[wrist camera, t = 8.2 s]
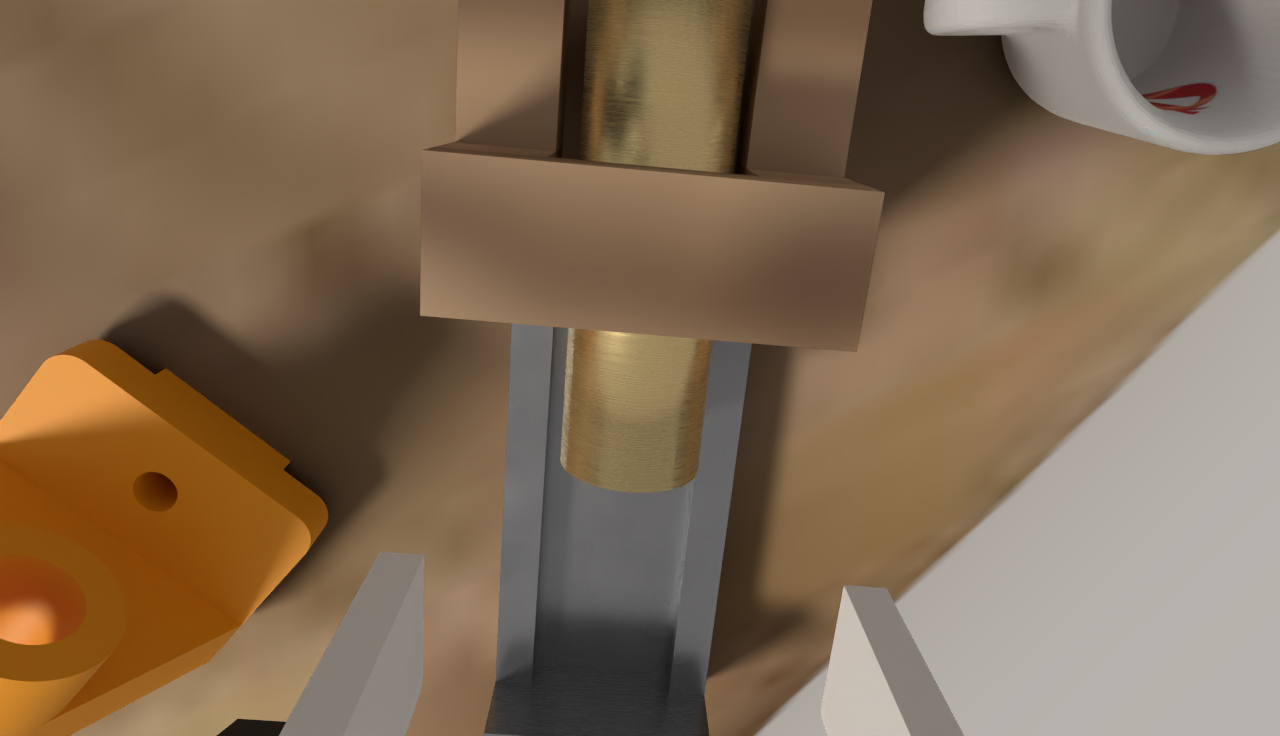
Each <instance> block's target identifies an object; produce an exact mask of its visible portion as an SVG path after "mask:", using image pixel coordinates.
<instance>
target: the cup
mask: <svg viewBox="0 0 1280 736" xmlns="http://www.w3.org/2000/svg"><path fill="white" fill-rule="evenodd" d="M923 17H924V26H925V29H926V30H927V32H929V33H930V34H932V35H939V36H967V35H1001V38H1002V46H1003V50H1004V55H1005V58H1006V61H1007V64H1008V66H1009V69H1010V71H1011V73H1012V75H1013V77H1014V78H1015V80H1016V82H1017V83H1018V84H1019V86H1020V87H1021V88H1022V90H1023V91H1024V92H1025V93H1026V94H1027V95H1028V96H1029V97H1030V98H1031V99H1032V100H1033V101H1035V102H1036V103H1037V104H1039V105H1040V106H1042V107H1043V108H1045V109H1046V110H1048V111H1049V112H1051V113H1053V114H1055V115H1057V116H1060V117H1062V118H1065V119H1068V120H1071V121H1074V122H1077V123H1080V124H1084V125H1087V126H1091V127H1095V128H1098V129H1102V130H1106V131H1109V132H1113V133H1117V134H1120V135H1124V136H1128V137H1131V138H1135V139H1139V140H1142V141H1146V142H1150V143H1153V144H1157V145H1161V146H1164V147H1168V148H1172V149H1175V150H1179V151H1184V152H1190V153H1198V154H1217V155H1219V154H1231V153H1240V152H1246V151H1251V150H1255V149H1259V148H1263V147H1266V146H1269V145H1272V144H1275V143H1278V142H1280V0H925V5H924V12H923Z"/></svg>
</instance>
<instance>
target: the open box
mask: <svg viewBox="0 0 1280 736" xmlns="http://www.w3.org/2000/svg"><path fill="white" fill-rule="evenodd" d="M872 1H873V0H753V3H752V11H751V20H750V29H749V37H748V46H747V54H746V63H745V72H744V80H743V89H742V97H741V106H740V115H739V123H738V132H737V140H736V149H735V158H734V166H733V174H730V173H719V172H708V171H697V170H686V169H675V168H664V167H653V166H642V165H631V164H620V163H609V162H598V161H587V160H579V150H580V133H581V117H582V101H583V85H584V69H585V53H586V37H587V21H588V4H589V0H459V7H458V51H457V95H456V139H455V142H453V143H449V144H445V145H441V146H437V147H433V148H429V149H425V150H422V191H421V280H420V316H430V317H442V318H454V319H466V320H478V321H490V322H502V323H514V324H526V325H538V326H550V327H562V328H574V329H586V330H598V331H610V332H622V333H634V334H646V335H658V336H670V337H682V338H694V339H706V340H718V341H730V342H742V343H754V344H766V345H778V346H790V347H802V348H814V349H826V350H838V351H850V352H857V349H858V343H859V338H860V332H861V326H862V321H863V315H864V309H865V303H866V298H867V292H868V286H869V281H870V275H871V269H872V264H873V258H874V252H875V246H876V241H877V235H878V229H879V224H880V218H881V212H882V206H883V201H884V195H885V192H883V191H880V190H877V189H874V188H872V187H869V186H866V185H864V184H861V183H858V182H855V181H853V180H850V179H847V178H844V176H845V169H846V163H847V157H848V151H849V144H850V138H851V132H852V126H853V119H854V113H855V107H856V101H857V94H858V88H859V82H860V76H861V69H862V63H863V57H864V51H865V44H866V38H867V32H868V26H869V19H870V13H871V7H872Z"/></svg>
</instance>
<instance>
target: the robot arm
mask: <svg viewBox="0 0 1280 736" xmlns="http://www.w3.org/2000/svg"><path fill="white" fill-rule="evenodd" d="M423 608H424V555H419V554H405V553H391V552H380V553H379V554H378V556H377V558H376V560H375V562H374V564H373V565H372V567H371V569H370V571H369V573H368V574H367V576H366V578H365V580H364V582H363V584H362V585H361V587H360V589H359V591H358V593H357V594H356V596H355V598H354V600H353V602H352V604H351V605H350V607H349V609H348V611H347V613H346V614H345V616H344V618H343V620H342V622H341V624H340V625H339V627H338V629H337V631H336V633H335V635H334V636H333V638H332V640H331V642H330V644H329V645H328V647H327V649H326V651H325V653H324V655H323V656H322V658H321V660H320V662H319V664H318V665H317V667H316V669H315V671H314V673H313V675H312V676H311V678H310V680H309V682H308V684H307V685H306V687H305V689H304V691H303V693H302V695H301V696H300V698H299V700H298V702H297V704H296V706H295V707H294V709H293V711H292V713H291V715H290V716H289V718H288V720H287V722H278V721H263V720H247V719H237V720H236V721H235V722H233V723H232V724H231V725H230V726H228V727H227V728H226V729H225V730H223V731H222V732H221V733H220V734H218V735H217V736H405V735H406V732H407V729H408V726H409V724H410V721H411V718H412V715H413V712H414V709H415V706H416V704H417V701H418V698H419V695H420V692H421V689H422V680H423ZM820 714H821V717H822V721H823V723H824V727H825V730H826V733H827V736H964V735H963V733H962V731H961V729H960V727H959V725H958V724H957V721H956V720H955V718H954V716H953V714H952V712H951V710H950V708H949V706H948V704H947V702H946V701H945V699H944V697H943V695H942V693H941V691H940V689H939V687H938V685H937V684H936V682H935V680H934V678H933V676H932V674H931V672H930V670H929V668H928V666H927V665H926V663H925V661H924V659H923V657H922V655H921V653H920V651H919V649H918V648H917V645H916V644H915V642H914V640H913V638H912V636H911V634H910V632H909V630H908V628H907V627H906V625H905V623H904V621H903V619H902V617H901V615H900V613H899V612H898V609H897V608H896V606H895V604H894V602H893V600H892V598H891V596H890V594H889V592H888V590H887V589H886V588H876V587H863V586H849V585H844V588H843V593H842V599H841V604H840V609H839V615H838V620H837V625H836V631H835V636H834V641H833V647H832V652H831V658H830V663H829V668H828V674H827V679H826V684H825V690H824V695H823V701H822V706H821V712H820Z"/></svg>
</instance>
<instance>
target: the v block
mask: <svg viewBox="0 0 1280 736" xmlns="http://www.w3.org/2000/svg"><path fill="white" fill-rule="evenodd" d="M567 343H568V328H562V327H550V326H538V325H526V324H514V323H512V332H511V354H510V376H509V398H508V420H507V442H506V464H505V486H504V508H503V530H502V552H501V574H500V596H499V618H498V641H497V663H496V682H495V687H494V691H493V696H492V700H491V704H490V709H489V713H488V718H487V722H486V726H485V731H484V736H709V730H708V722H707V714H706V706H705V698H704V693H705V686H706V679H707V671H708V664H709V656H710V649H711V642H712V634H713V627H714V620H715V612H716V605H717V597H718V590H719V583H720V575H721V568H722V560H723V553H724V546H725V538H726V531H727V524H728V516H729V509H730V501H731V494H732V487H733V479H734V472H735V464H736V457H737V450H738V442H739V435H740V427H741V420H742V413H743V405H744V398H745V391H746V383H747V376H748V368H749V361H750V354H751V346H752V343H742V342H730V341H718V340H713V347H712V355H711V364H710V373H709V381H708V390H707V398H706V407H705V416H704V424H703V433H702V441H701V450H700V459H699V467H698V473H697V475H696V477H695V478H694V479H693V480H692V481H691V482H689V483H687V484H686V485H684V486H681V487H679V488H675V489H672V490H667V491H661V492H652V493H631V492H620V491H614V490H608V489H604V488H600V487H596V486H593V485H590V484H588V483H585V482H583V481H581V480H579V479H577V478H575V477H573V476H572V475H570V474H569V473H568V472H567V471H566V470H565V469H564V468H563V466H562V464H561V460H560V456H561V440H562V424H563V408H564V392H565V375H566V359H567Z"/></svg>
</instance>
